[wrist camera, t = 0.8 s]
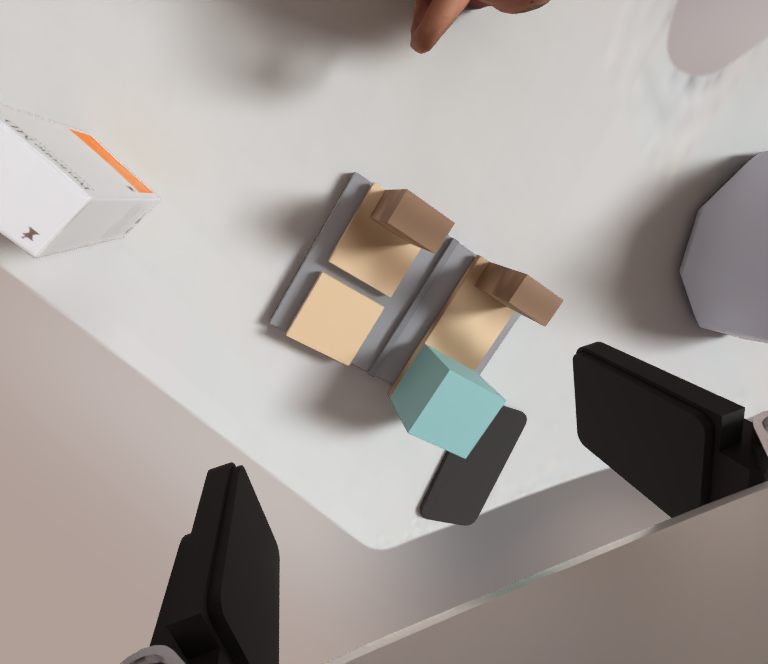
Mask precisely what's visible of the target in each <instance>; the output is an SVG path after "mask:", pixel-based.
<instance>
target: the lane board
mask: <svg viewBox="0 0 768 664" xmlns="http://www.w3.org/2000/svg"><path fill="white" fill-rule="evenodd" d="M371 185H372V183H371V182H370V181H368V180H367V179H366V178H364V177H363V176H361V175H360V174H358V173H357V172H354V173H353V175H352V177H351V178H350V180H349V182H348V184H347V185H346V187H345V189H344V191H343V192H342V194H341V196H340V198H339V199H338V201H337V203H336V205H335V206H334V208H333V210H332V212H331V213H330V215H329V217H328V219H327V221H326V222H325V224H324V226H323V228H322V229H321V231H320V233H319V235H318V236H317V238H316V240H315V242H314V243H313V245H312V247H311V249H310V250H309V252H308V254H307V256H306V257H305V259H304V261H303V263H302V265H301V266H300V268H299V270H298V272H297V273H296V275H295V277H294V279H293V280H292V282H291V284H290V286H289V287H288V289H287V291H286V293H285V294H284V296H283V298H282V300H281V301H280V303H279V305H278V307H277V309H276V310H275V312H274V314H273V316H272V317H271V319H270V324H272V325H274V326H276V327H278V328H280V329H282V330H284V331H286V336H288V337H290V338H292V339H294V340H296V341H298V342H300V343H302V344H304V345H306V346H308V347H311V348H313V349H315V350H317V351H319V352H321V353H323V354H325V355H327V356H329V357H331V358H333V359H335V360H337V361H339V362H341V363H343V364H345V365H347V366H349V365H350V363H351V364H353V365H355V366H357V367H359V368H361V369H363V370H365V371H367V372H368V374H369V375H371V376H373V377H374V376H378V377H380V378H382V379H384V380H386V381H388V382H390V383H392V384H394V383H395V381H396V380H397V378H398V377H399V375H400V374H401V372H402V371H403V369H404V367H405V366H406V364H407V363H408V361H409V360H410V358H411V356H412V355H413V353H414V352H415V350H416V349H417V347H418V346H419V344H420V342H421V341H422V339H423V338H424V336H425V335H426V333H427V332H428V330H429V328H430V327H431V325H432V324H433V322H434V321H435V319H436V318H437V316H438V314H439V313H440V311H441V310H442V308H443V307H444V305H445V304H446V302H447V300H448V299H449V297H450V296H451V294H452V293H453V291H454V289H455V288H456V286H457V285H458V283H459V282H460V280H461V279H462V277H463V275H464V274H465V272H466V271H467V269H468V268H469V266H470V265H471V263H472V261H473V260H474V258H475V257H476V254H474V253H473V252H471V251H470V250H468V249H467V248H465V247H464V246H463V245H461V244H460V243H459V242H458V241H457V240H456V239H454V238H451V237H450V236H448V235H447V236H446V238H445V240H444V241H443V243H442V244H441V246H440V248H439V249H438V251H437V252H436V254H434V253H432V252H429V251H427V250H424V249H422V248H421V249H420V251H419V253H418V254H417V256H416V258H415V259H414V261H413V262H412V264H411V266H410V267H409V269H408V271H407V272H406V274H405V275H404V277H403V279H402V280H401V282H400V284H399V285H398V287H397V288H396V290H395V292H394V293H393V295H392V297H389V296H387V295H385V294H384V293H382V292H380V291H379V290H377V289H375V288H373V287H372V286H370V285H368V284H367V283H365V282H363V281H361V280H360V279H358V278H356V277H355V276H353V275H351V274H349V273H348V272H346V271H344V270H343V269H341V268H339V267H337V266H336V265H334V264H332V263H331V262H329V261H328V259H329V257H330V256H331V254H332V252H333V251H334V249H335V247H336V245H337V244H338V242H339V240H340V238H341V237H342V235H343V233H344V232H345V230H346V228H347V226H348V225H349V223H350V221H351V219H352V218H353V216H354V214H355V213H356V211H357V209H358V207H359V206H360V204H361V202H362V200H363V199H364V197H365V195H366V194H367V192H368V190H369V188H370V187H371ZM520 315H521V314H520V313H518V312H516V311H515V312H514V313H513V315H512V316H511V318H510V319H509V321H508V322H507V324H506V325H505V327H504V328H503V330H502V331H501V332H500V334H499V335H498V337H497V338H496V340H495V341H494V343H493V344H492V346H491V347H490V349H489V350H488V352H487V353H486V355H485V356H484V358H483V359H482V361H481V362H480V364H479V365H478V367H477V368H476V370H475V372H476V373H477V374H478V375H480V374H481V372H482V371H483V369H484V368H485V366H486V365H487V363H488V362H489V360H490V359H491V357H492V356H493V354H494V353H495V351H496V350H497V349H498V347H499V346H500V344H501V343H502V341H503V340H504V338H505V337H506V335H507V334H508V332H509V331H510V329H511V328H512V326H513V325H514V323H515V322H516V321H517V319H518V318H519V316H520Z"/></svg>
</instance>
